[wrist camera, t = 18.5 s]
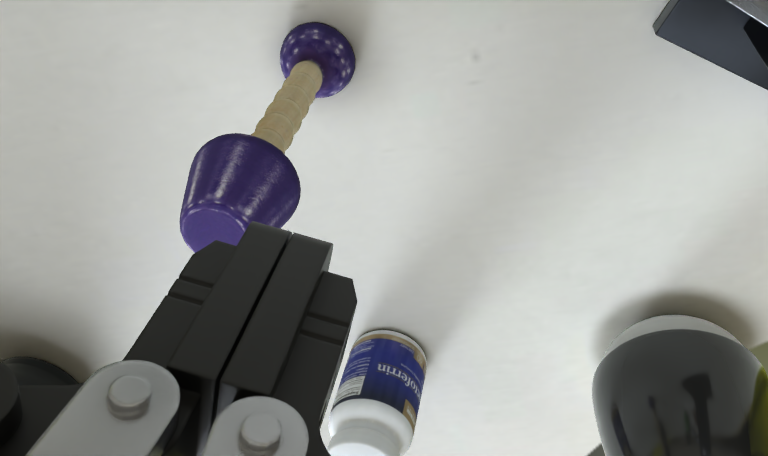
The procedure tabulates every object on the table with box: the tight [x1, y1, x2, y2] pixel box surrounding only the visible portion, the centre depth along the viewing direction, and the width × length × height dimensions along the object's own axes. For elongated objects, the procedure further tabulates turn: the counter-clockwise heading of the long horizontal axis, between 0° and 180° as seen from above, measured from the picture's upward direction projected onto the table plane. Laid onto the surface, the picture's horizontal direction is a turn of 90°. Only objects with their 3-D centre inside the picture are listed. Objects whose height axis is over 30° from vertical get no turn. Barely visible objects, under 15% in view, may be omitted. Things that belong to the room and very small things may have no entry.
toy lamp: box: [180, 22, 355, 253], centre depth 33 cm, size 5×5×17 cm
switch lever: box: [726, 0, 768, 27], centre depth 26 cm, size 14×3×3 cm, turn 68°
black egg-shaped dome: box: [592, 315, 768, 456], centre depth 41 cm, size 10×10×15 cm
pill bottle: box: [327, 330, 427, 456], centre depth 48 cm, size 6×6×10 cm
